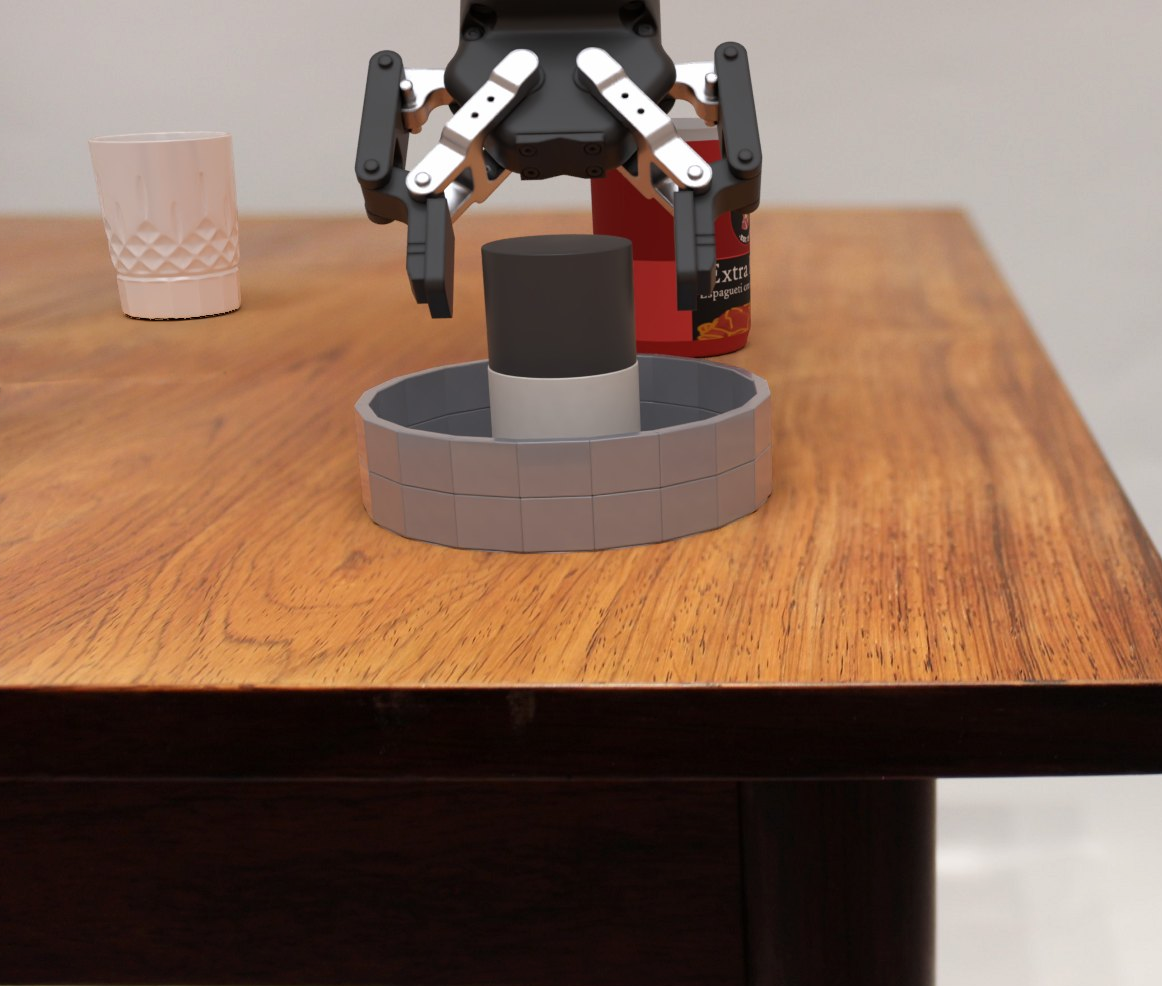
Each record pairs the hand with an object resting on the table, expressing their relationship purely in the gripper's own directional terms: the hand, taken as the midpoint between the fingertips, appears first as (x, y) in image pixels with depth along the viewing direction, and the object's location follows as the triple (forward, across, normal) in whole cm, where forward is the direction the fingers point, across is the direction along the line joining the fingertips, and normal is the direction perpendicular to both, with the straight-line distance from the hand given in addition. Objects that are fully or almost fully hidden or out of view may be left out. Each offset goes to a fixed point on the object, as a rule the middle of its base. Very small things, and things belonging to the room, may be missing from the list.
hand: (562, 301), depth 57 cm
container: (+5, 0, -4) cm, 6 cm away
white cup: (-25, +25, -35) cm, 50 cm away
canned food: (-14, -4, -25) cm, 29 cm away
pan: (+6, 0, -4) cm, 7 cm away
